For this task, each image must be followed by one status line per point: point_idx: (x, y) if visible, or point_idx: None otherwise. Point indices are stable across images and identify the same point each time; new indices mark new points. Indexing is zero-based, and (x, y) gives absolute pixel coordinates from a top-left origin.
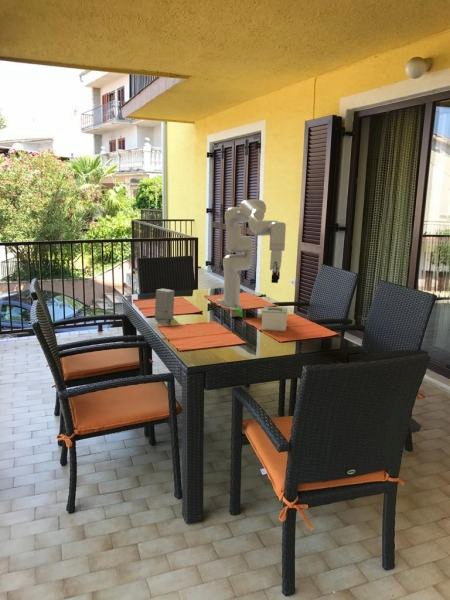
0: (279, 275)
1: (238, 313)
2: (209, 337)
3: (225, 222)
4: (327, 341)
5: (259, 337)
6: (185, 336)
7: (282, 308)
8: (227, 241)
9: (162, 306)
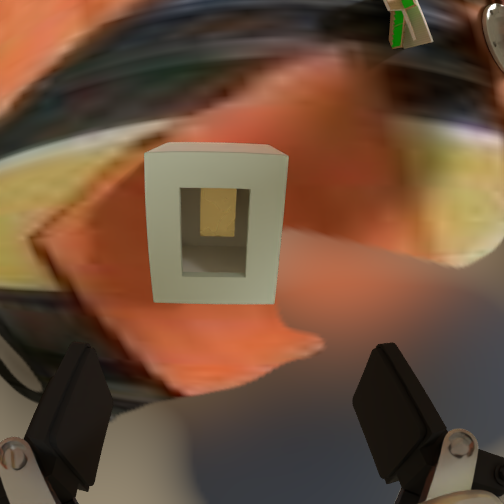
0: (372, 441)
1: (394, 26)
2: None
3: None
4: (108, 374)
5: (57, 153)
6: None
7: (245, 278)
8: None
9: None
